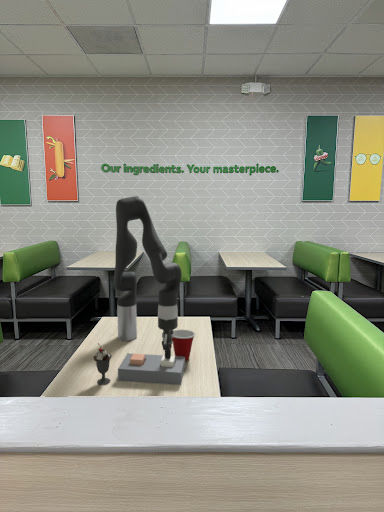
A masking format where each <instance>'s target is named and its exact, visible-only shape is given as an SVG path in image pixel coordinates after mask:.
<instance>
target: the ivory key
mask: <svg viewBox="0 0 384 512" xmlns="http://www.w3.org/2000/svg"><path fill="white" fill-rule="evenodd" d="M162 355H163V357H162V359H161V367H174V366H175V355H171V357H170V359H166V358H165V354H162Z"/></svg>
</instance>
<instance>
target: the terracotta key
mask: <svg viewBox="0 0 384 512" xmlns="http://www.w3.org/2000/svg"><path fill="white" fill-rule="evenodd" d="M132 354H133V355H132V357H131V359H130V365H144V363H145V353H132Z"/></svg>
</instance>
